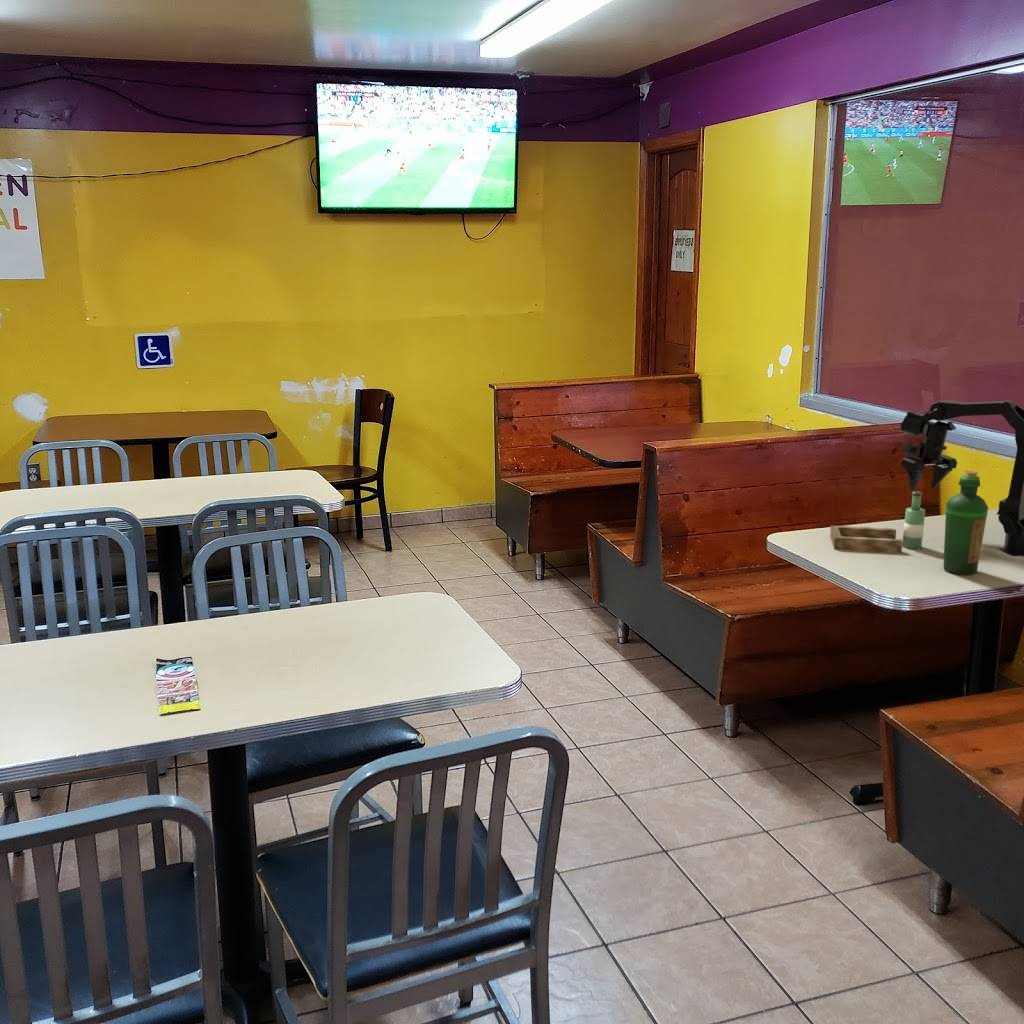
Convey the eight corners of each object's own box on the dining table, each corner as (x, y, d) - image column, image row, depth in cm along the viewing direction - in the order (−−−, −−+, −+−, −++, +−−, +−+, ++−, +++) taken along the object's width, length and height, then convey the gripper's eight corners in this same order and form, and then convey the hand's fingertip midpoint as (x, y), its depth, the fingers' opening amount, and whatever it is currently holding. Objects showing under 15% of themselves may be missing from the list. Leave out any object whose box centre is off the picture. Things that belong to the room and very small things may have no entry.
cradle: (894, 539, 314) (895, 528, 313) (901, 552, 301) (902, 541, 300) (829, 536, 318) (830, 525, 317) (834, 549, 305) (834, 537, 304)
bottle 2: (987, 576, 278) (999, 476, 271) (947, 576, 279) (958, 476, 272) (971, 565, 289) (982, 468, 282) (933, 565, 289) (943, 468, 282)
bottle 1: (925, 548, 304) (930, 494, 300) (907, 549, 304) (913, 494, 299) (915, 543, 310) (921, 489, 305) (898, 544, 309) (903, 490, 305)
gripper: (935, 432, 322) (923, 478, 328) (892, 434, 314) (881, 482, 319) (963, 442, 313) (951, 490, 318) (920, 445, 305) (908, 494, 310)
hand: (922, 489), depth 317 cm, fingers open, 9 cm apart
